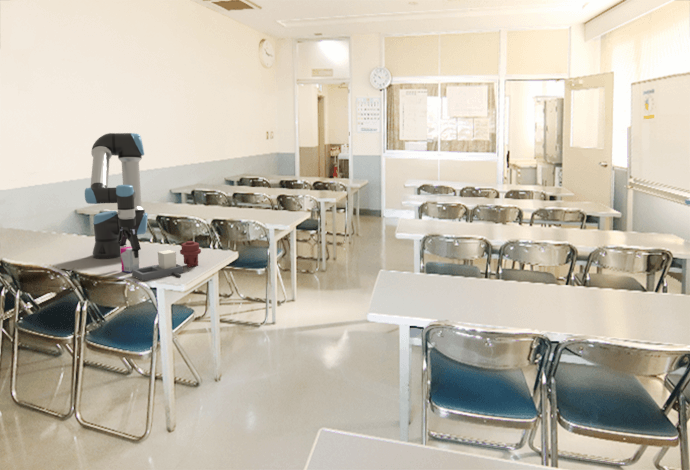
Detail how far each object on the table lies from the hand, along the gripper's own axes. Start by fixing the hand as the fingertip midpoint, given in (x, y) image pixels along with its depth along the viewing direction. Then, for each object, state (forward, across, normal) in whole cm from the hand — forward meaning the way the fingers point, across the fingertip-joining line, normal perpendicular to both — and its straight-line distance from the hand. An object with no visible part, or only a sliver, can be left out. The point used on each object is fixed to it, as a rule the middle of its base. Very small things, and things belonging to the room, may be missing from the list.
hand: (129, 261), depth 254 cm
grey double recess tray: (+5, +17, +7) cm, 19 cm away
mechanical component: (+5, +11, +26) cm, 29 cm away
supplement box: (+5, 0, 0) cm, 5 cm away
